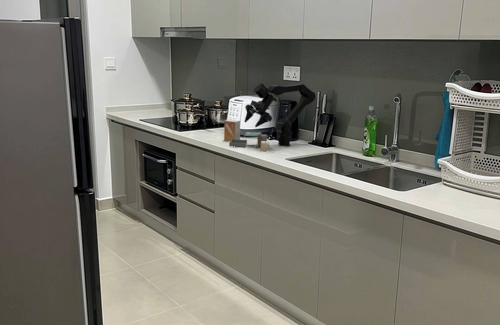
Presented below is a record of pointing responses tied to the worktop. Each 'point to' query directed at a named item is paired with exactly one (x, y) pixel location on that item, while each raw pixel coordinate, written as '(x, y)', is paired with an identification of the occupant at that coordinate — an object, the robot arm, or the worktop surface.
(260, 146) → the frame
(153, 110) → the worktop surface
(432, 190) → the worktop surface
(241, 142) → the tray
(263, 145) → the stone
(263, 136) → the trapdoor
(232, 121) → the small box
